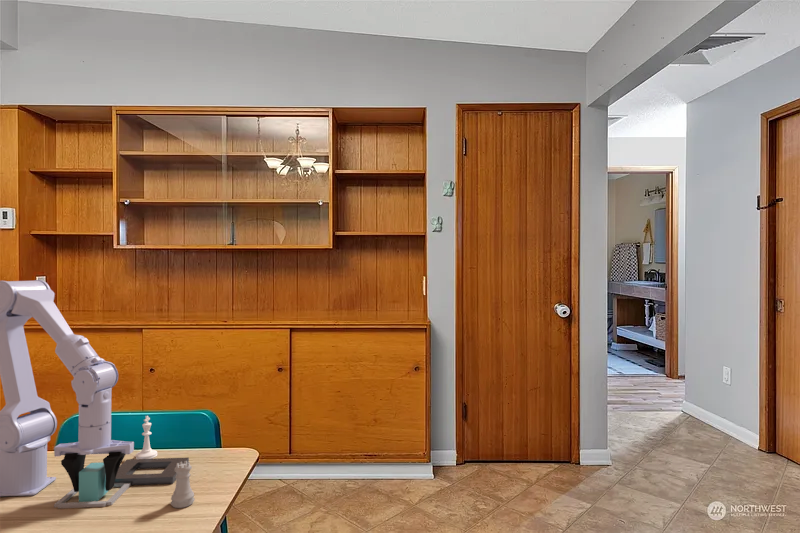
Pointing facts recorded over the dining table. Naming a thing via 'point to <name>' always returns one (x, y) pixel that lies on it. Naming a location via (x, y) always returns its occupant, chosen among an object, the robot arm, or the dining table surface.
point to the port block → (132, 465)
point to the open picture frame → (62, 501)
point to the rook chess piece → (182, 486)
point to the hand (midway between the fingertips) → (94, 489)
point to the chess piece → (146, 443)
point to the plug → (92, 482)
